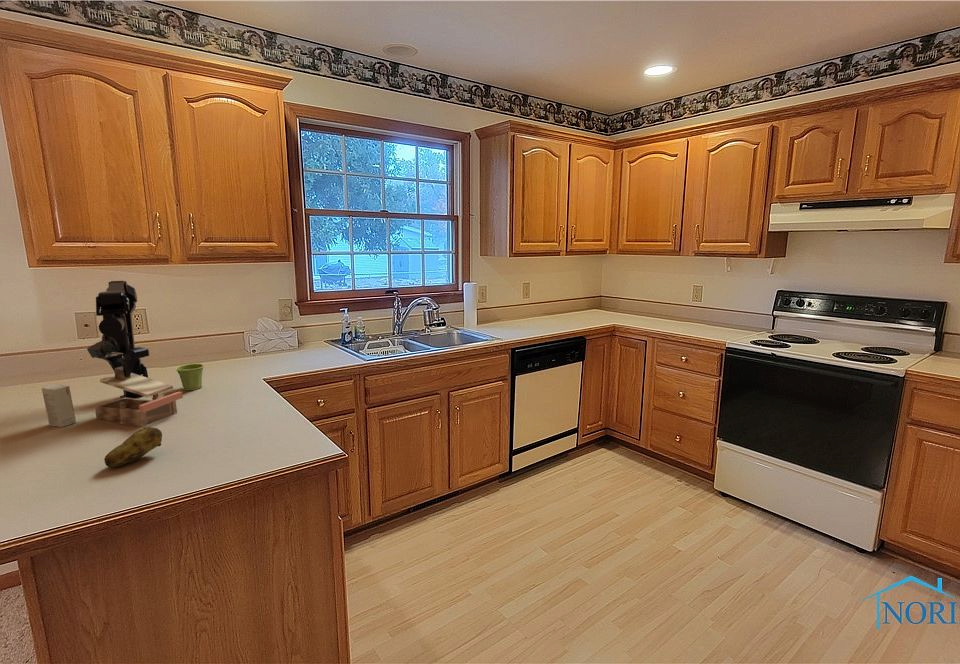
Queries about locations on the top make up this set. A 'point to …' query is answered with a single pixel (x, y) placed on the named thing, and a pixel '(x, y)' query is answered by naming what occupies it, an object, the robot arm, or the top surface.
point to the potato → (134, 447)
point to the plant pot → (191, 376)
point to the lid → (136, 383)
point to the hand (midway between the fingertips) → (123, 376)
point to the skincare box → (59, 405)
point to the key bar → (160, 401)
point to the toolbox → (134, 411)
